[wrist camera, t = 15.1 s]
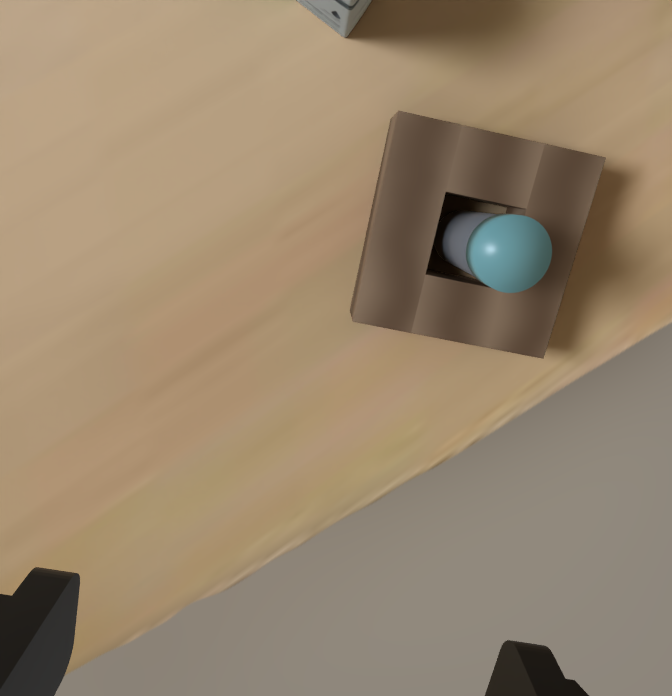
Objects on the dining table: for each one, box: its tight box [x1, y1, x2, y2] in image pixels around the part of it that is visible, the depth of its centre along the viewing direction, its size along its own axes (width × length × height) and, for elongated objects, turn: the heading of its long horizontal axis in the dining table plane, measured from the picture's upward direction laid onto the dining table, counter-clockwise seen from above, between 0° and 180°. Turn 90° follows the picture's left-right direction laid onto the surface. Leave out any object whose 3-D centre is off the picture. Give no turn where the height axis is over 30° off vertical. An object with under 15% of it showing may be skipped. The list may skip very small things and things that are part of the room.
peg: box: [434, 210, 552, 293], centre depth 37 cm, size 4×4×12 cm
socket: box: [350, 111, 606, 358], centre depth 41 cm, size 14×14×4 cm
